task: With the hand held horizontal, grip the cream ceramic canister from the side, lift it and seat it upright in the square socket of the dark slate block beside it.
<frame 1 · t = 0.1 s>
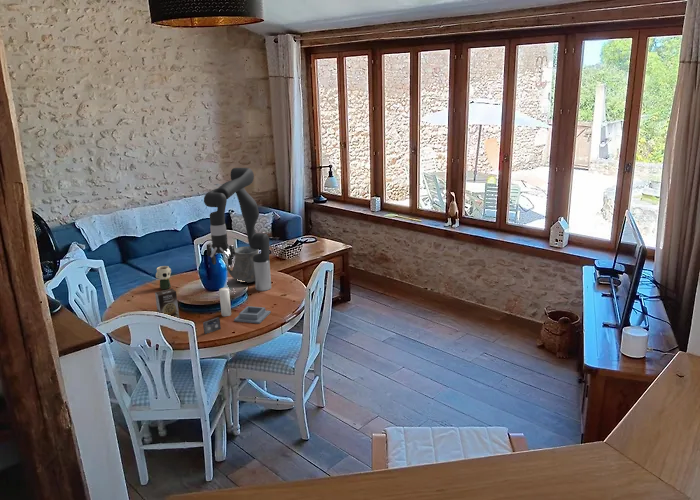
hand: (222, 264, 271), 29 cm above the table, tool pointing down, fingers open, 8 cm apart
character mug: (165, 288, 325), on the table
mini dv tape: (212, 331, 266), on the table
coffee box: (169, 321, 279), on the table
cream canister: (226, 314, 285), on the table
slate socket: (252, 316, 281), on the table
vessel: (249, 280, 336), on the table
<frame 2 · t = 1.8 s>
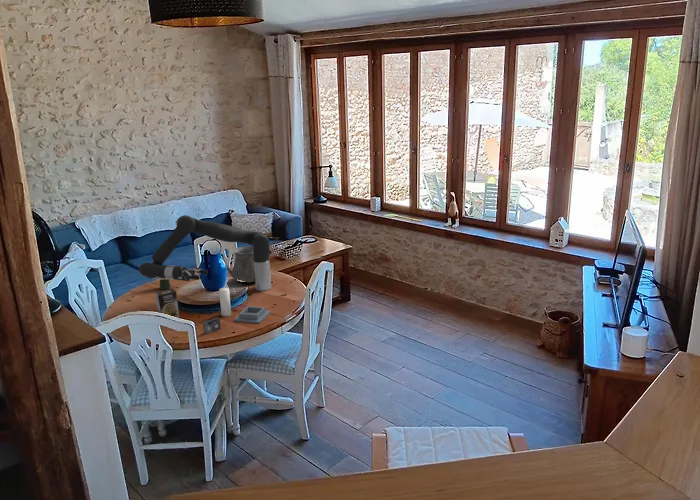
hand: (203, 274, 282), 21 cm above the table, tool horizontal, fingers open, 8 cm apart
nothing on the table moved.
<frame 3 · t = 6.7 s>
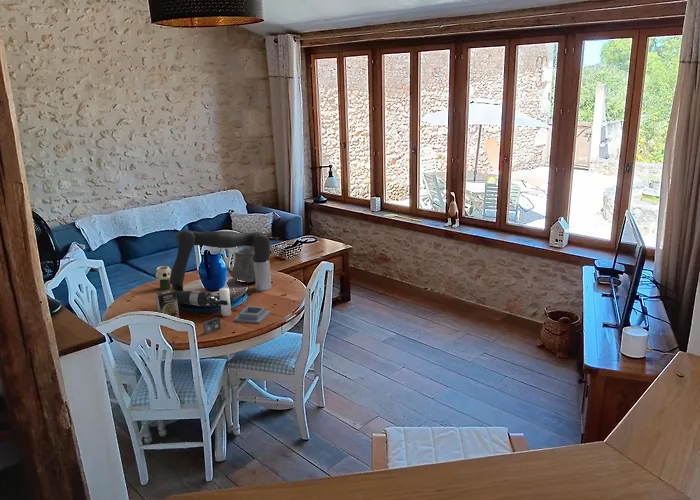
hand: (229, 301, 282), 8 cm above the table, tool horizontal, fingers closed on cream canister, 5 cm apart
cream canister: (226, 314, 285), on the table, touching gripper
everything else where it was.
when the fingers open (10 cm above the table, at t = 12.2 s): cream canister drops 1 cm, resting on slate socket.
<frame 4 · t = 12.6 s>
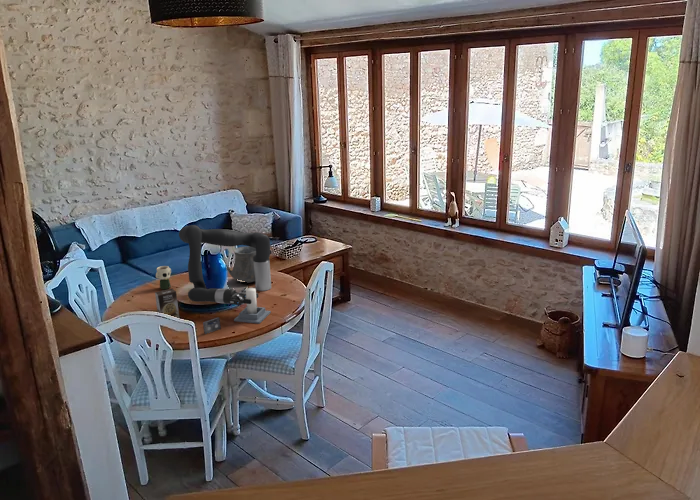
hand: (254, 298, 277), 10 cm above the table, tool horizontal, fingers open, 8 cm apart
cream canister: (252, 315, 281), point 1 cm above the table, touching slate socket
everything else where it was.
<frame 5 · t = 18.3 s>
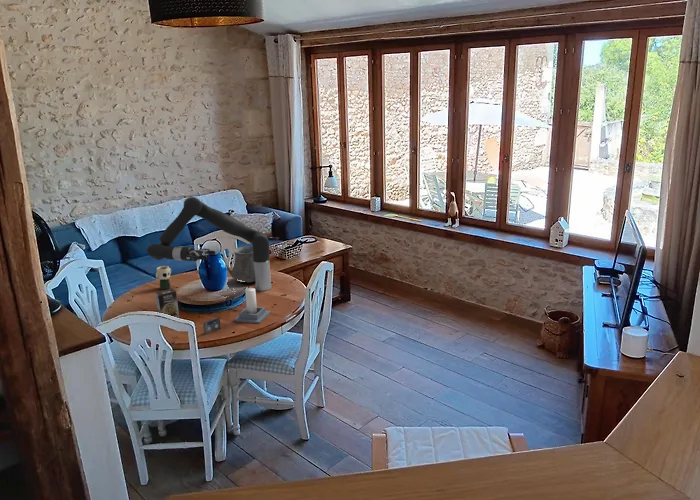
hand: (210, 255, 284), 30 cm above the table, tool horizontal, fingers open, 8 cm apart
nothing on the table moved.
at the end: cream canister 0.1 cm off-centre on the slate socket, point 1.0 cm above the slate socket's base; cream canister tilted 0°; the gripper is holding nothing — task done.
